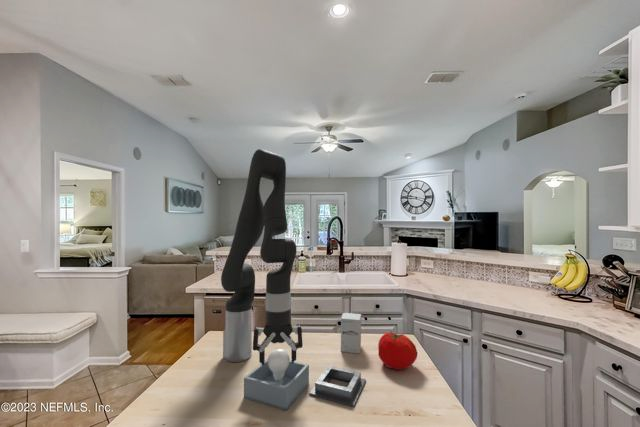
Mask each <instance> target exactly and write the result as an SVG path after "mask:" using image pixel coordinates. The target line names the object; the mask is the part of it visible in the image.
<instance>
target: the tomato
mask: <svg viewBox="0 0 640 427" xmlns="http://www.w3.org/2000/svg"><path fill="white" fill-rule="evenodd" d="M377 343H378V346H377V347H378V348H377V349H378V353H377V354H378V355H377V356H378V357H379V359H380V361H381V362H382V363H383V365H385V366H386V367H388V368H389V369H394V370H397V371H400V370H404V369H405V370H406V369H408V368H410V367H411V366H412V365H413V364H414V363H415V362H416V360H417V357H418V349H417V347H416V345H415V344H414V342H413V341H412V340H411V339H410V338H409V337H408V336H407V335H405V334H404V333H402V334H397V333H396V332H393V331H390V332H387V333H384V334H383V335H382V336H381V337H380V338H379V340H378V342H377Z"/></svg>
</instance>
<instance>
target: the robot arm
mask: <svg viewBox="0 0 640 427" xmlns="http://www.w3.org/2000/svg"><path fill="white" fill-rule="evenodd" d="M248 172H249V173H248V175H247V176H248V177H247V182H246V189H245V193H244V197H243V201H242V205H241V209H240V212H239V215H238V218H237V223H236V227H235V232H234V236H233V239H232V242H231V247H230V249H229V252H228V255H227V258H226V260H225V263H224V264H223V265H224V266H223V269H222V271H221V277H220V278H221V279H220V283H221V287H222V288H223V290H224V291H225V292H228V293H233V294H232V295H231V297H230V298H229V299H227V301H226V303H225V329H223V331H222V334H223V336H222V358H224V359H225V360H226V361H227V362H231V363H237V362H243V361H246V360H248V359H250V358H251V357H252V353H253V352H252V350H253V351H257V352H258V353H259V356H258V357H259V359H258V360H259V361H258V362H259V364H262V365H264V363H265V359H266V357H265V356H266V354H265V353H266V351H265V350H266V348H267V347H268V346H269V344H270V343H272V344H277V343H278V344H282V343H283V344H284V343H286V344H287V345H288V346H289V347H290V348H291V356H290V357H291V359H290V361H291V362H292V363H294V361H295V362H297V350H298V349H301V348H303V331H302V330H303V328H302V325H301V324H300V323H299V324H297V325H294V326H293V325H292V294H291V276H292V271H293V266H294V263H295V259H296V256H297V251H298V250H297V249H298V248H297V244H296V242H295V241H294V240H293V239H292V238H273V237H276V236H279V235H282V234H284V233H286V232H287V231H288V220H287V214H286V212H287V211H286V204H285V202H286V201H285V200H286V198H285V197H286V183H287V182H286V180H287V179H286V178H287V177H286V175H287V163H286V159H285V158H284V157H283V156H282V155H281V154H279V153H275V152H271V151H269V150H265V149H261V148H259V149H257V150H255V151H254V153H253V156H252V157H251V162H250V166H249V171H248ZM262 178H263V179H266V180H270V181H272V183H273V188H272V191H271V192H270V194H269V195H268V197H267V199H266V200H265V202H263V200H262V197H261V194H260V193H261V191H260V189H261V187H260V186H261V185H260V184H261V179H262ZM263 203H264V204H263ZM262 234H263V237H262V242H261V246H260V250H259V255H260V258H261V260H262V261H263V262H264V263H266V264H282V265H281V266H280V267H279V268H277V269H274V270H271V271H269V272H268V273H267V274H266V278H265V279H266V281H265V282H266V284H265V285H266V286H265V288H266V292H265V297H264V298H265V299H264V300H265V302H264V314H265V315H264V327H259V326H255V327H254V329H253V328H252V327H253V326H252V325H253V324H252V323H253V321H252V320H253V302H254V299H255V293H256V292H255V290H256V289H255V287H256V274H255V270H254V268H253V266H252V265H251V264H249V263H246V262H245V261H246V259H247V256H248V255H249V253H250V252H251V251H252V249H253V248H254V246H255V245H256V244H257V242H258V241H259V239H260V238H261V236H262ZM252 330H253V331H252ZM293 332H294V334H295V335H297V341H296V342H295V341H294V339H293V337H292V336H291V334H292V333H293ZM252 334H253V335H252ZM262 334H263V335H265V336H266V337H265V338H264V339H263V341H262V342H261V344H260V343H259V337H260V336H261V335H262ZM252 337H253V339H252Z"/></svg>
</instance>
